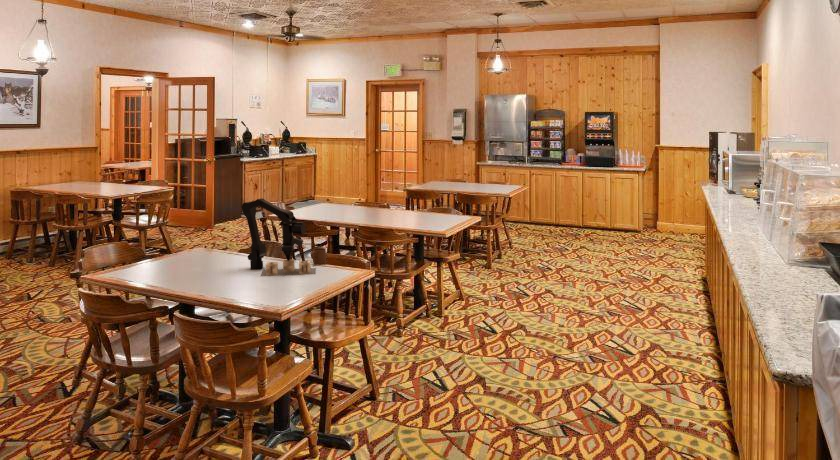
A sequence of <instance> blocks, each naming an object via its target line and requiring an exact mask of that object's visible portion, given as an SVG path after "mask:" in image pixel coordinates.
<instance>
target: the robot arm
mask: <svg viewBox="0 0 840 460" xmlns="http://www.w3.org/2000/svg"><path fill="white" fill-rule="evenodd" d="M240 207H241V209H240V210H241V212H242V214H243V215H244V217H245V218H246V221H247V222H246V223H247V226H248V231H249V234H250V238H251V246H250V253H249V254H248V255H247V259H248V261H249V262H250V263H249V264H250V269H249V270H250V271H253V270H255V271H256V270H264V260H263V258H264V256H265V255H266V253H267V247H266V243H265V242H263V241H262V240H261V236H260V231H259V227H258V222H257V219H256V215H257V208H262V209H264V210H266V211H268V212H269V213H271V214H273V215H276V217H277V218H278V219H279V220H280V223H278V226H279V227H280V226H282V227H281V228H282V229H281V231H282V232H281V233H282V237H281V238H282V246H281V252H283V254H284V255H285V259H286V260H288V261H289V260H290V259H291V253H292V251H294V246H295V245H296V246H299V247H302V246H303V242H304V239H302V237H301V236H297V237H295V235H305V234H306V231H307V227H306V224H305V222H304V221H300V222H299V220H298V219H297V218H296V217H295V214H294V212H293V211H291V210H288V209H285V208H281V207H279V206H277V205H275V204H273V203H271V202H269V201H267V200H266V199H264V198H263V197H262V198H257V199H255V200H252V201H246V202H243V203H242V204H241V206H240ZM294 234H295V235H294Z"/></svg>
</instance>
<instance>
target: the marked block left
mask: <svg viewBox="0 0 840 460" xmlns="http://www.w3.org/2000/svg"><path fill="white" fill-rule="evenodd" d="M278 264H279V262H278V261H273V262H272V261H270V262H269V261H268V262H265V270H266V275H277V274H278V269H279V265H278Z"/></svg>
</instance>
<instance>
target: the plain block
mask: <svg viewBox="0 0 840 460" xmlns="http://www.w3.org/2000/svg"><path fill="white" fill-rule="evenodd" d="M282 269H283V272H294V270H295V269H296V268H295V259H294V258H293V259H291V258H290V260H289V261H288V260H287V259H283V261H282Z"/></svg>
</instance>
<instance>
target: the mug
mask: <svg viewBox="0 0 840 460" xmlns="http://www.w3.org/2000/svg"><path fill="white" fill-rule="evenodd" d="M310 258H311V259H312V261H313V262H312V263H313V265H317V266H321V265H322V266H323V265H326V264H327V250H326V248H324V247H318V248H317V247H316V248H313V249H312V250H311V252H310Z"/></svg>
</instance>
